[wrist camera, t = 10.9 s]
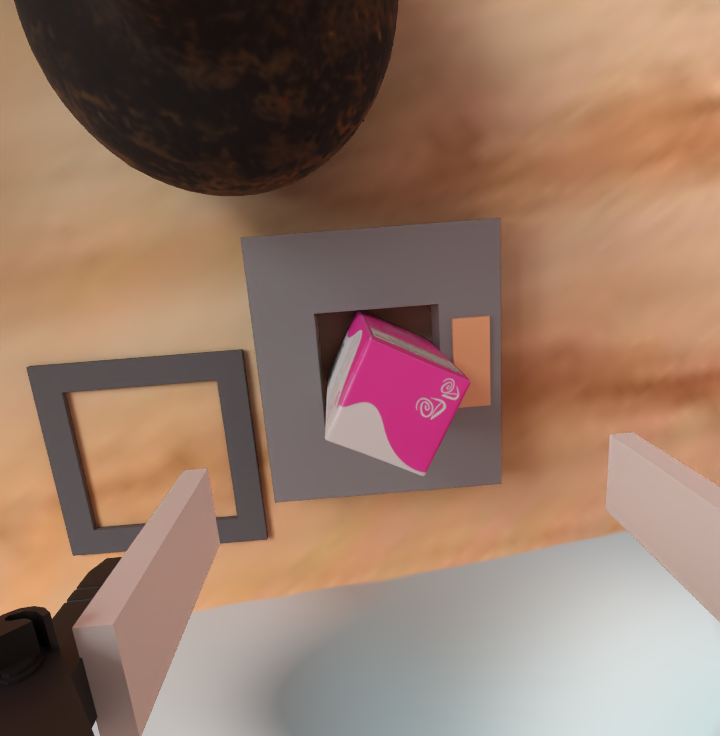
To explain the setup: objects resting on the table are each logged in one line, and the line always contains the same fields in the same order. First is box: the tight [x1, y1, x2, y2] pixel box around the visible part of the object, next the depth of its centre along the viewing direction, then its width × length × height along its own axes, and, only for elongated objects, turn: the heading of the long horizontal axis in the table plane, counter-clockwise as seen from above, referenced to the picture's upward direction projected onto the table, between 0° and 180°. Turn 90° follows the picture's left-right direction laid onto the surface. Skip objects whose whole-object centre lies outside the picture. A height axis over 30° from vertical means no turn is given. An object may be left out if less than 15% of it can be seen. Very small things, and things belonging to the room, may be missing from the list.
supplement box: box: [325, 310, 471, 476], centre depth 29 cm, size 6×6×12 cm
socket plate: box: [241, 218, 501, 502], centre depth 33 cm, size 18×16×3 cm
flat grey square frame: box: [26, 349, 268, 556], centre depth 36 cm, size 15×15×1 cm
